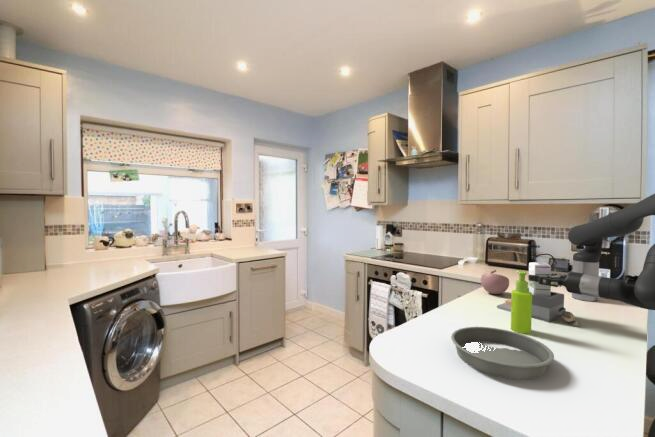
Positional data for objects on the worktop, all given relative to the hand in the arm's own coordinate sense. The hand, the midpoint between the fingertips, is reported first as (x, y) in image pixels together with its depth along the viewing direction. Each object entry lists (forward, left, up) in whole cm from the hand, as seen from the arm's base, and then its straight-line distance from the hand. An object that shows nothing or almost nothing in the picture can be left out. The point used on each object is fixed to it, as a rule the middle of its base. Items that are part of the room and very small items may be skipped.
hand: (534, 276), depth 122 cm
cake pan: (+48, +13, -15) cm, 52 cm away
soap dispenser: (+22, +6, -15) cm, 27 cm away
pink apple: (-14, -23, -15) cm, 31 cm away
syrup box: (0, +2, -9) cm, 10 cm away
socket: (0, -2, -15) cm, 15 cm away
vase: (+2, +12, -15) cm, 19 cm away
